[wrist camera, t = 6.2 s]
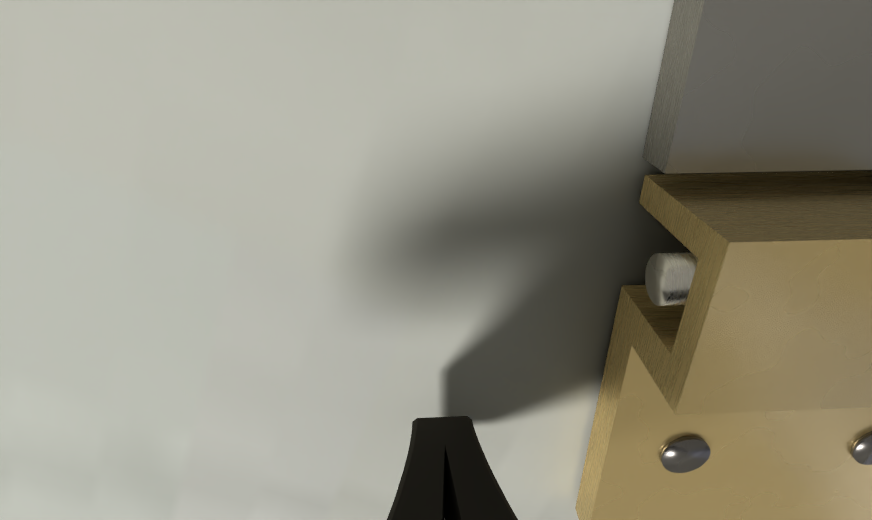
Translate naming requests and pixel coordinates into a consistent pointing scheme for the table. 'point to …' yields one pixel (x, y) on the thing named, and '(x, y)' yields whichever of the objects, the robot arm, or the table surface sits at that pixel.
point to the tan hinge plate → (744, 359)
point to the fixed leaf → (758, 99)
